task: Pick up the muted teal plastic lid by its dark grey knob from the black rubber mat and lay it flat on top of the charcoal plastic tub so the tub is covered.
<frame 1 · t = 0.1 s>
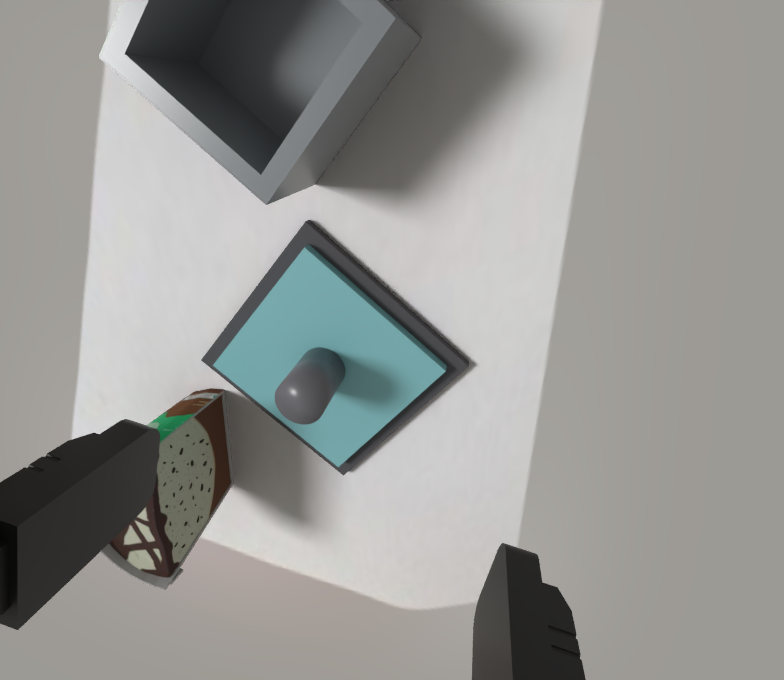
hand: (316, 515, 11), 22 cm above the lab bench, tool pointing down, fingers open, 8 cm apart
lid: (326, 363, 35), point 1 cm above the lab bench, touching mat
tub: (296, 53, 28), on the lab bench
food container: (196, 430, 42), on the lab bench
mat: (329, 359, 36), on the lab bench
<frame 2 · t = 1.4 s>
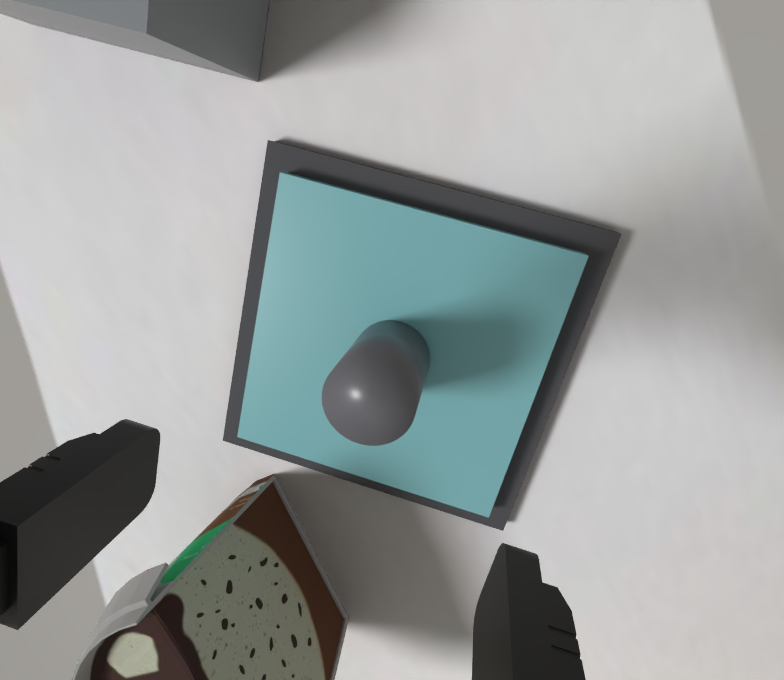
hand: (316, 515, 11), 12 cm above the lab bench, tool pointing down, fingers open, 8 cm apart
lid: (394, 351, 22), point 1 cm above the lab bench, touching mat
food container: (265, 558, 27), on the lab bench
mat: (397, 346, 22), on the lab bench
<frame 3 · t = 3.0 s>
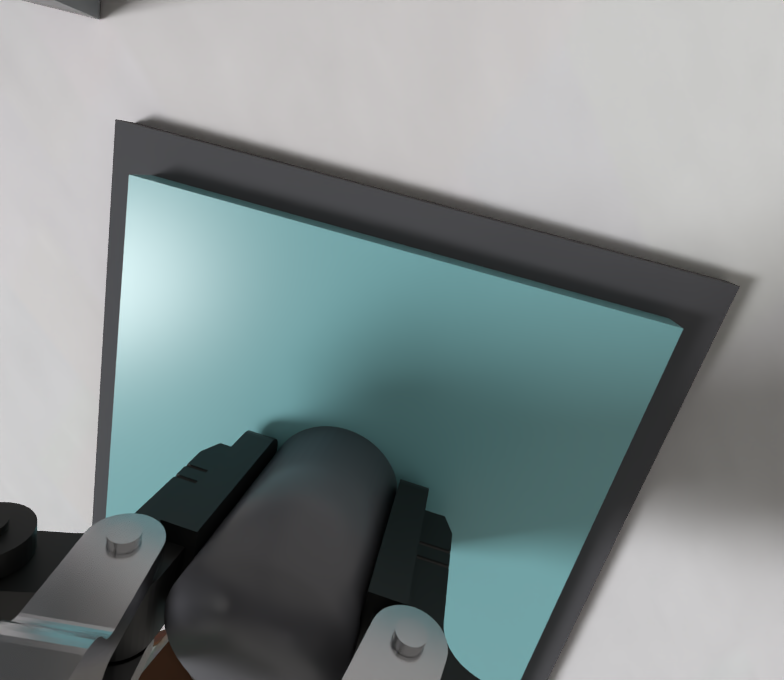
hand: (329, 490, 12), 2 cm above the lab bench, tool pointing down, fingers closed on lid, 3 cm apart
lid: (342, 468, 13), point 1 cm above the lab bench, touching gripper, mat
mat: (348, 456, 14), on the lab bench
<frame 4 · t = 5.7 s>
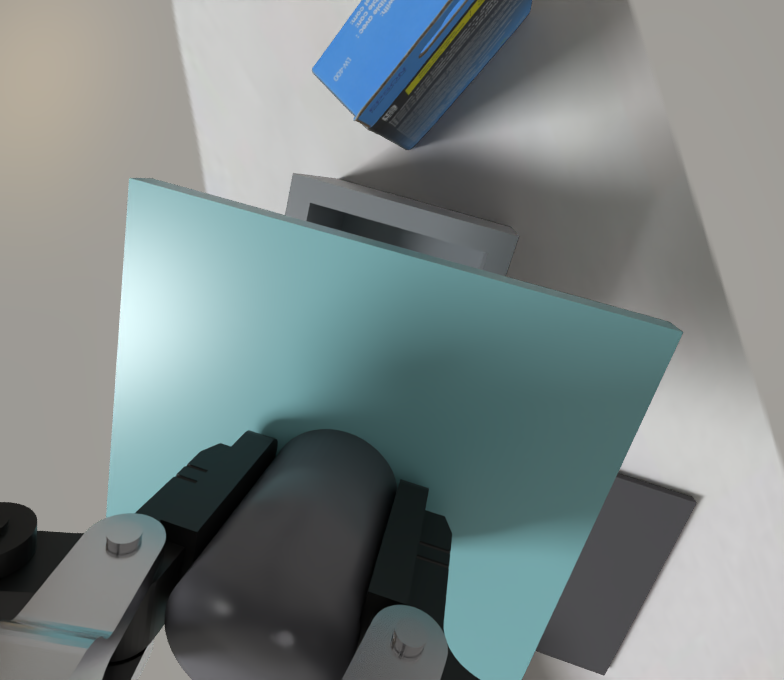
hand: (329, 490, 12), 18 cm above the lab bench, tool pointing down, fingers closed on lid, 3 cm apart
label tape cartridge: (441, 61, 26), on the lab bench
lid: (342, 470, 13), point 17 cm above the lab bench, touching gripper
tub: (399, 288, 29), on the lab bench
mat: (536, 551, 32), on the lab bench
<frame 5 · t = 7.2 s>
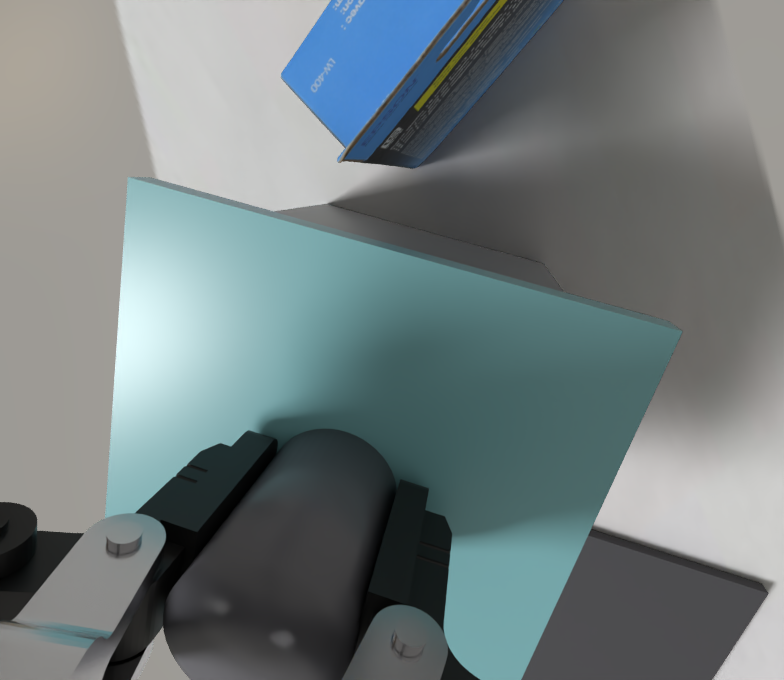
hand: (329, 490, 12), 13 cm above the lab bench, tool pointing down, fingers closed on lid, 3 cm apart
label tape cartridge: (456, 55, 20), on the lab bench
lid: (341, 470, 13), point 12 cm above the lab bench, touching gripper
tub: (404, 336, 24), on the lab bench
mat: (569, 638, 27), on the lab bench
when the fingers open (10 cm above the lab bench, at t = 8.4 s): lid drops 2 cm, resting on tub.
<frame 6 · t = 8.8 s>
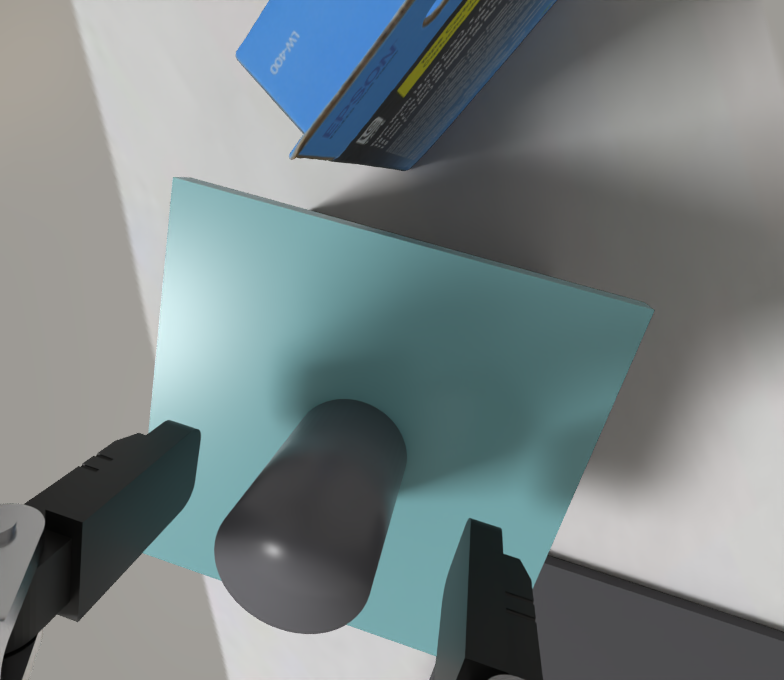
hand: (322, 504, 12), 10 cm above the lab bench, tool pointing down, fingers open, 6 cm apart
label tape cartridge: (452, 41, 18), on the lab bench
lid: (356, 438, 15), point 7 cm above the lab bench, touching tub
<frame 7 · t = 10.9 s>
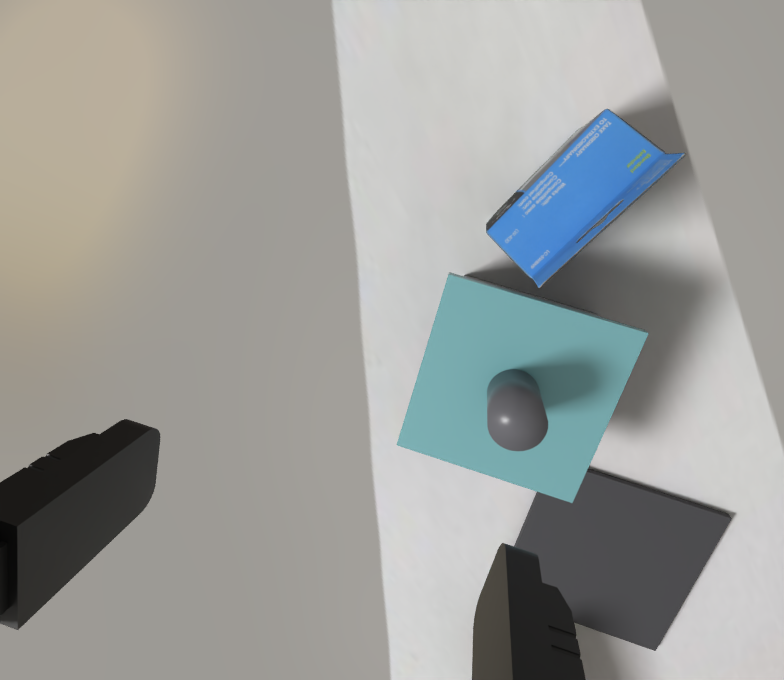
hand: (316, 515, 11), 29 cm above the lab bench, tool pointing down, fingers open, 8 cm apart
label tape cartridge: (549, 195, 35), on the lab bench
lid: (512, 388, 32), point 7 cm above the lab bench, touching tub
mat: (604, 554, 42), on the lab bench
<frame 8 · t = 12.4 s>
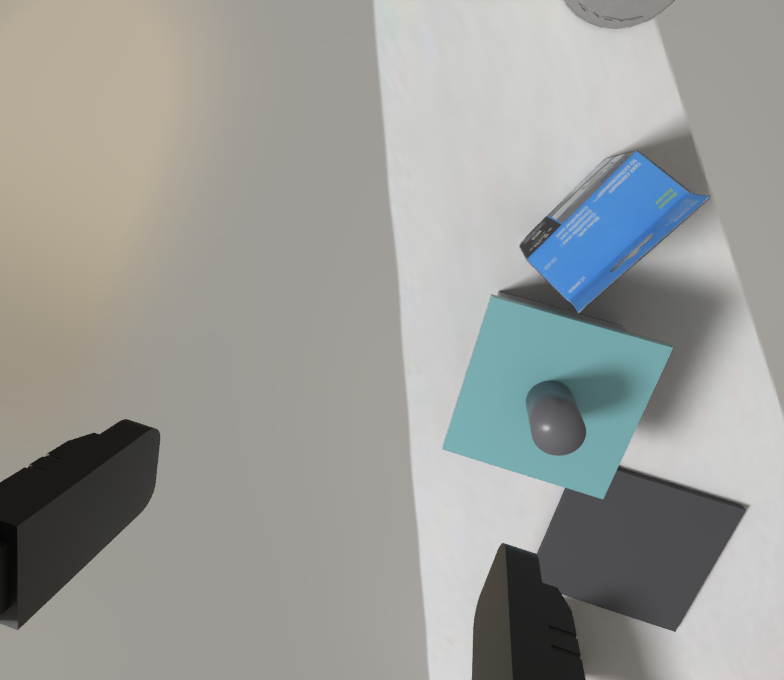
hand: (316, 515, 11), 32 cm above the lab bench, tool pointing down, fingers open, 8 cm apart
label tape cartridge: (577, 218, 39), on the lab bench
lid: (548, 397, 36), point 7 cm above the lab bench, touching tub
tub: (538, 364, 42), on the lab bench
mat: (627, 544, 46), on the lab bench
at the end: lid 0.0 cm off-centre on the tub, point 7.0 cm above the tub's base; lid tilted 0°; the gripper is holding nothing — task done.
